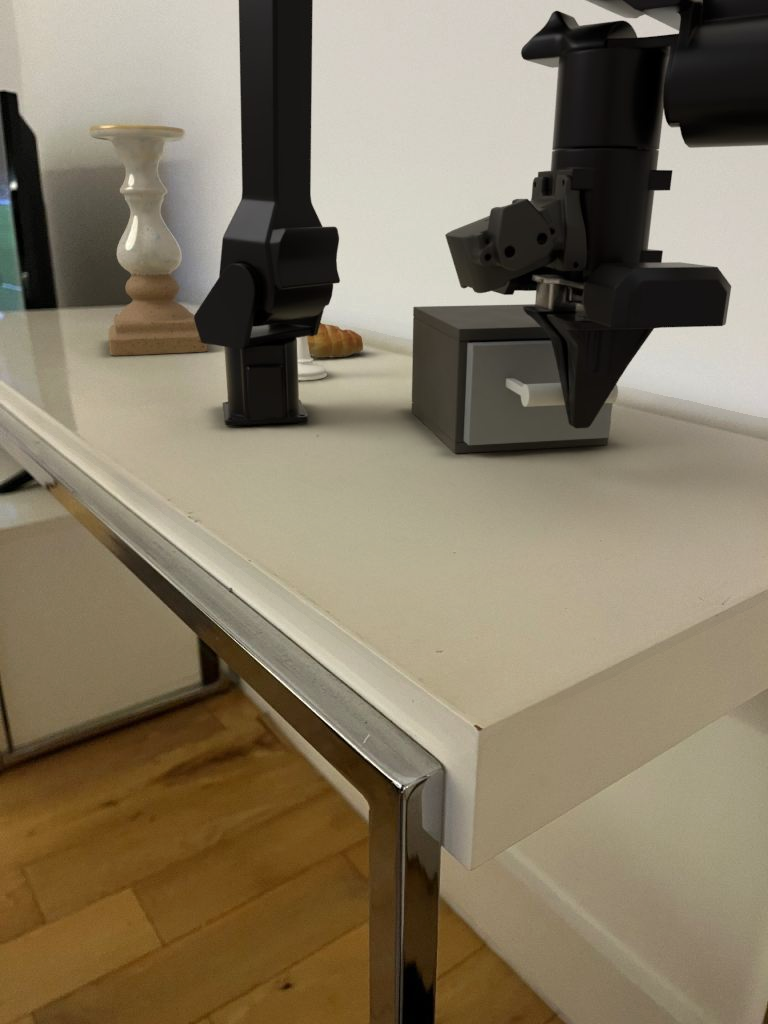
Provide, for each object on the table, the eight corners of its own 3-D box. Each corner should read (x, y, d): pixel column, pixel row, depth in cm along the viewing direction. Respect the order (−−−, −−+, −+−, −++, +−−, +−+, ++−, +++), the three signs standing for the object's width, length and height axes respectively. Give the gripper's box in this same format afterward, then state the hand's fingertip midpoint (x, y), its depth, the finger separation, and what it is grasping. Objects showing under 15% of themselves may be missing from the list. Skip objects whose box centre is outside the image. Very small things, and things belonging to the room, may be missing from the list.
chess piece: (333, 378, 81) (331, 274, 78) (285, 382, 80) (281, 275, 76) (318, 369, 86) (316, 270, 82) (272, 372, 84) (268, 271, 80)
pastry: (358, 348, 98) (357, 316, 97) (367, 359, 92) (367, 324, 90) (279, 350, 96) (278, 317, 95) (283, 361, 90) (282, 326, 89)
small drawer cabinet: (607, 445, 60) (620, 324, 56) (454, 453, 57) (459, 329, 54) (541, 405, 71) (548, 303, 68) (411, 411, 69) (413, 306, 66)
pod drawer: (642, 456, 54) (654, 352, 51) (491, 465, 52) (496, 357, 49) (545, 401, 69) (552, 318, 66) (425, 407, 66) (427, 321, 64)
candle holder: (110, 341, 102) (86, 130, 94) (199, 337, 105) (184, 133, 97) (110, 356, 92) (84, 122, 84) (208, 351, 96) (193, 125, 87)
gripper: (420, 157, 52) (416, 399, 58) (528, 135, 35) (507, 482, 41) (584, 160, 54) (564, 392, 60) (760, 140, 37) (710, 469, 43)
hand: (579, 426), depth 51 cm, fingers closed
